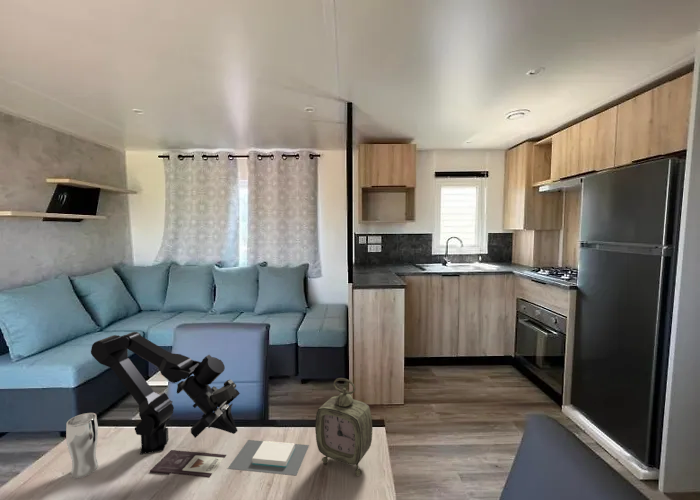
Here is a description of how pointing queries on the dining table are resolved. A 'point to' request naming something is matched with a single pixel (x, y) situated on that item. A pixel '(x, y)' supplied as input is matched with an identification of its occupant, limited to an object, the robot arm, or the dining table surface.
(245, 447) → the mat
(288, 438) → the dining table surface
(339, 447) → the tabletop clock
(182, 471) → the chocolate bar
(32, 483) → the dining table surface
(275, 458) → the tile
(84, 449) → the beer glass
